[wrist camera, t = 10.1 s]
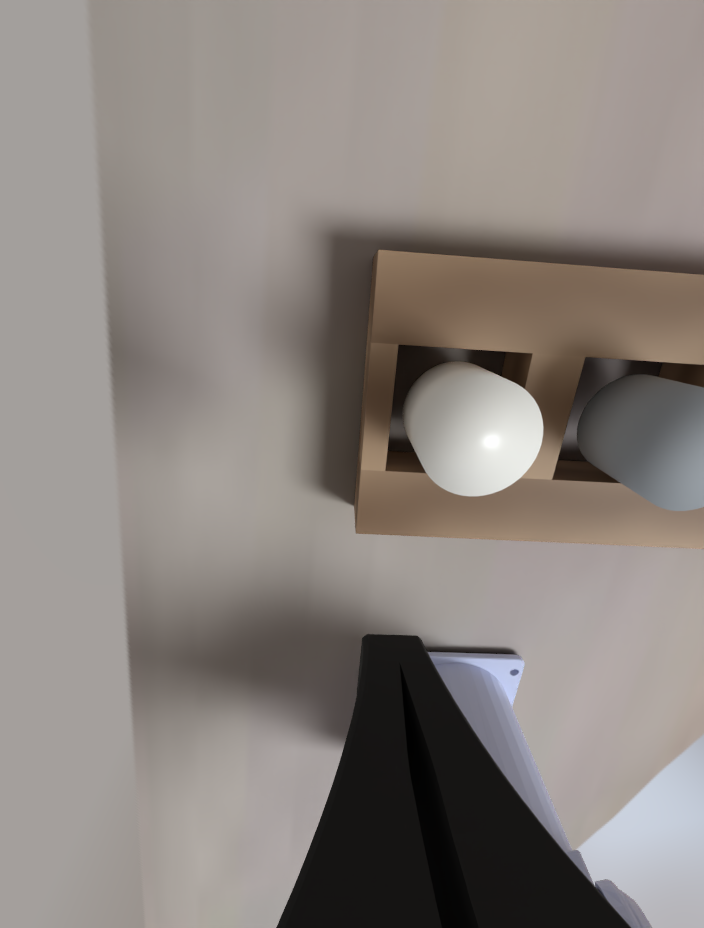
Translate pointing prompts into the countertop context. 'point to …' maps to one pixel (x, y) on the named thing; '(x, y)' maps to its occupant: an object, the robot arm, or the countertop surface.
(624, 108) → the countertop surface
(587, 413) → the grey rounded piece
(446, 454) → the white rounded cylinder
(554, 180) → the countertop surface
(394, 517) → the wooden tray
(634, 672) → the countertop surface
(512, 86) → the countertop surface
